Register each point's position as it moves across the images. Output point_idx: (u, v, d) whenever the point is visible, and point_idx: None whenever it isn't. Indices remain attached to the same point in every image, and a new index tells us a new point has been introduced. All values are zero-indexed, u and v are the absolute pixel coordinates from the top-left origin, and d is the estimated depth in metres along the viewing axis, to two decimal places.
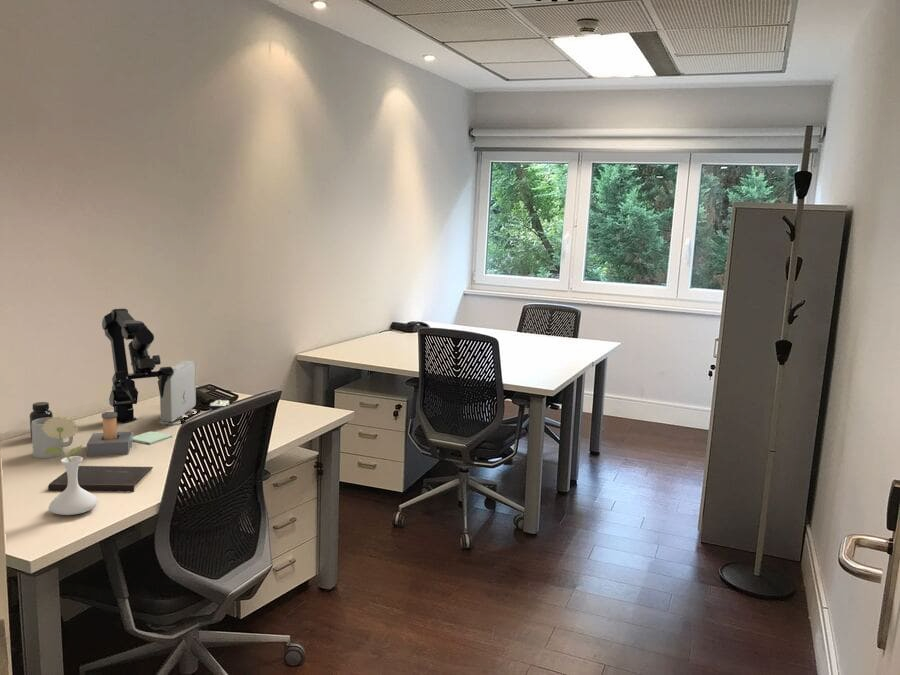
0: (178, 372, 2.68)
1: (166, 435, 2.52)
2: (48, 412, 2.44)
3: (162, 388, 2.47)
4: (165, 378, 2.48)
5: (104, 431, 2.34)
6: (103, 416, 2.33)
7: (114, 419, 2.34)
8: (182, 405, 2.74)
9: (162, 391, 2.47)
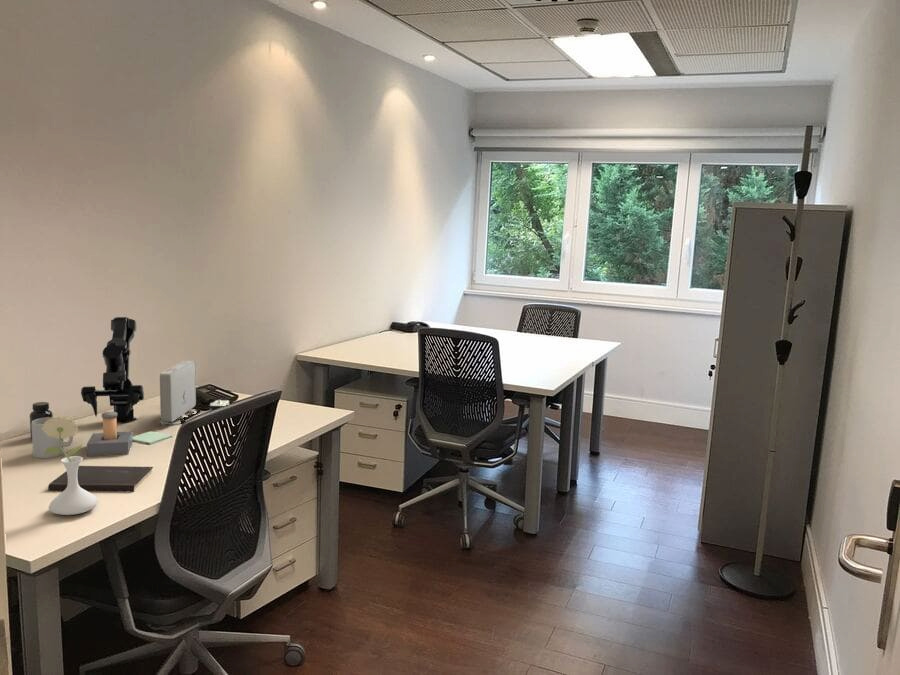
0: (178, 372, 2.68)
1: (166, 435, 2.52)
2: (48, 412, 2.44)
3: (127, 405, 2.40)
4: (132, 395, 2.42)
5: (104, 431, 2.34)
6: (103, 416, 2.33)
7: (114, 419, 2.34)
8: (182, 405, 2.74)
9: (127, 408, 2.40)
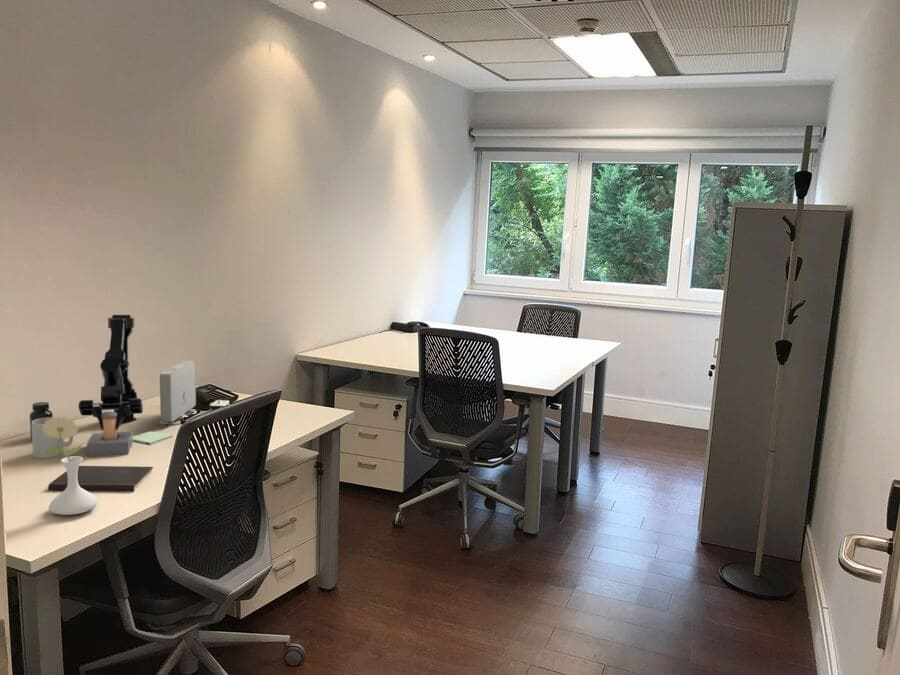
0: (178, 372, 2.68)
1: (166, 435, 2.52)
2: (48, 412, 2.44)
3: (118, 419, 2.36)
4: (122, 409, 2.37)
5: (104, 431, 2.34)
6: (103, 416, 2.33)
7: (114, 419, 2.34)
8: (182, 405, 2.74)
9: (117, 422, 2.35)
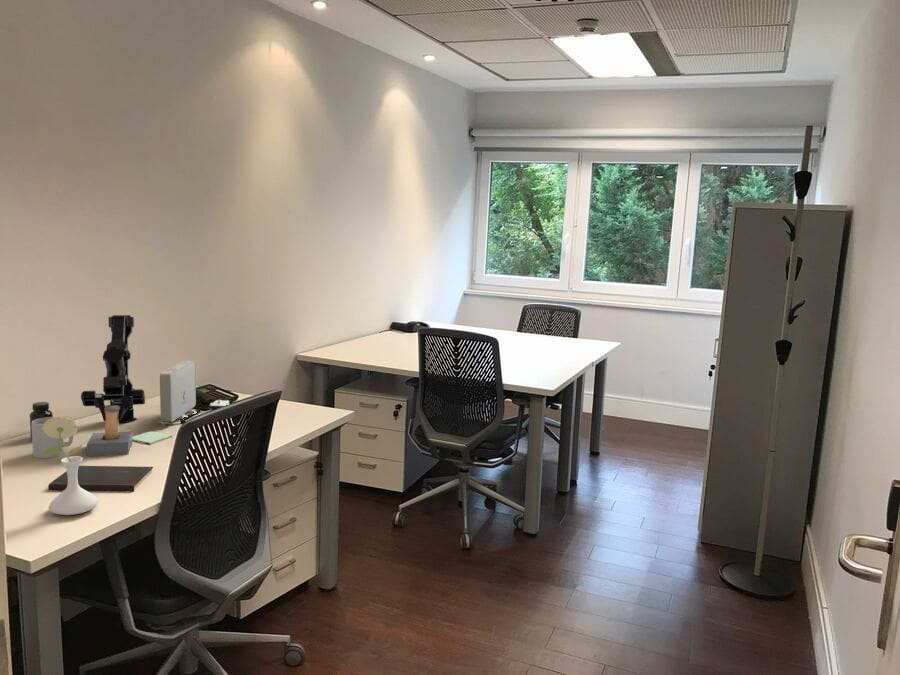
0: (178, 372, 2.68)
1: (166, 435, 2.52)
2: (48, 412, 2.44)
3: (121, 410, 2.36)
4: (125, 400, 2.37)
5: (106, 424, 2.34)
6: (106, 409, 2.33)
7: (117, 412, 2.34)
8: (182, 405, 2.74)
9: (120, 413, 2.35)
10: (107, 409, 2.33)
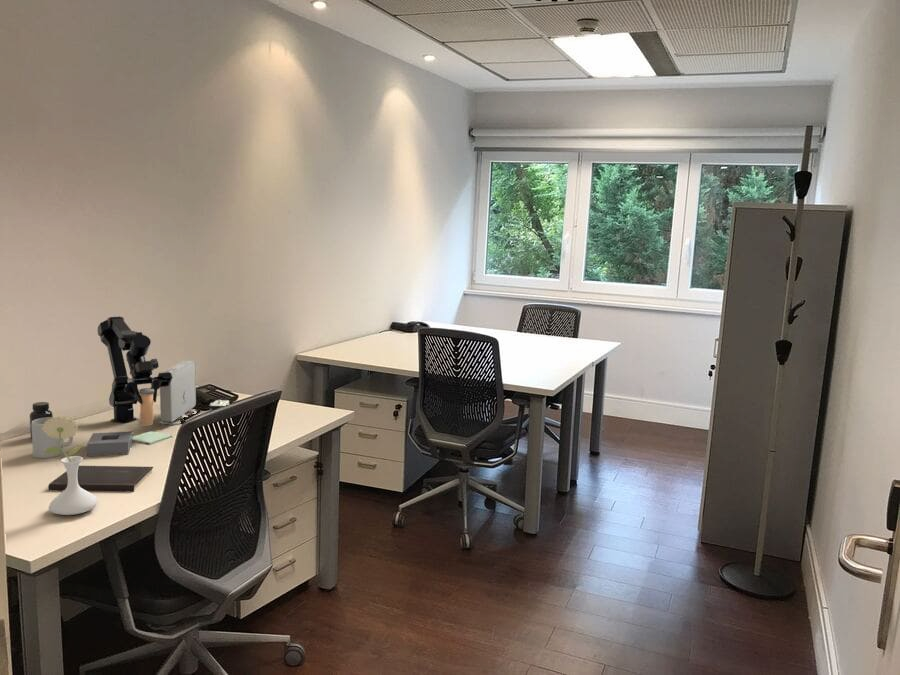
0: (178, 372, 2.68)
1: (166, 435, 2.52)
2: (48, 412, 2.44)
3: (155, 392, 2.48)
4: (157, 383, 2.49)
5: (143, 406, 2.45)
6: (143, 392, 2.44)
7: (152, 394, 2.46)
8: (182, 405, 2.74)
9: (155, 395, 2.47)
10: (145, 392, 2.44)
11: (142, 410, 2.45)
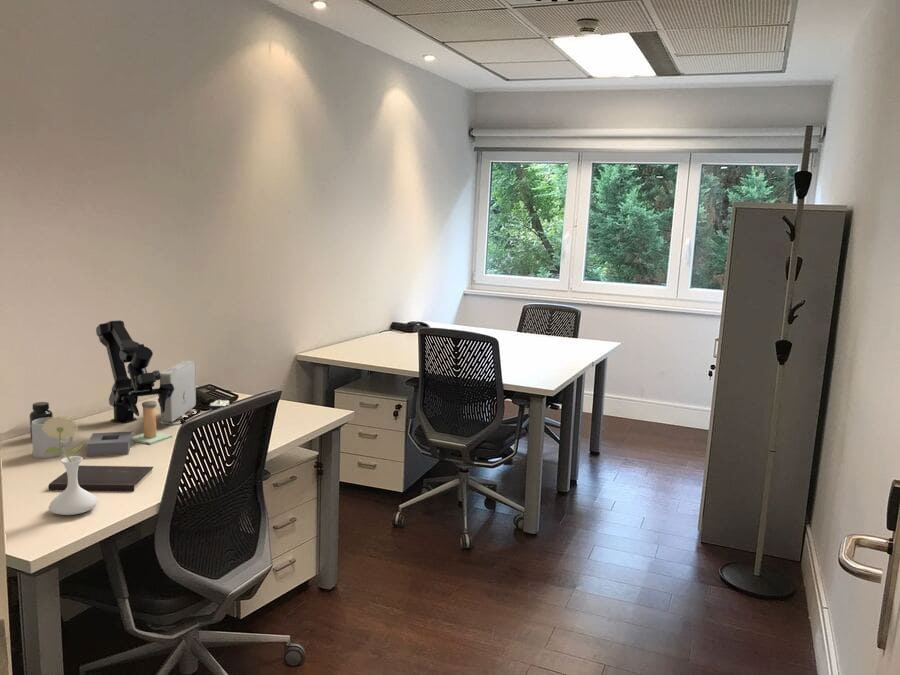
0: (178, 372, 2.68)
1: (166, 435, 2.52)
2: (48, 412, 2.44)
3: (163, 403, 2.51)
4: (165, 393, 2.52)
5: (146, 420, 2.47)
6: (146, 405, 2.45)
7: (155, 407, 2.48)
8: (182, 405, 2.74)
9: (163, 406, 2.50)
10: (147, 406, 2.45)
11: (145, 423, 2.47)
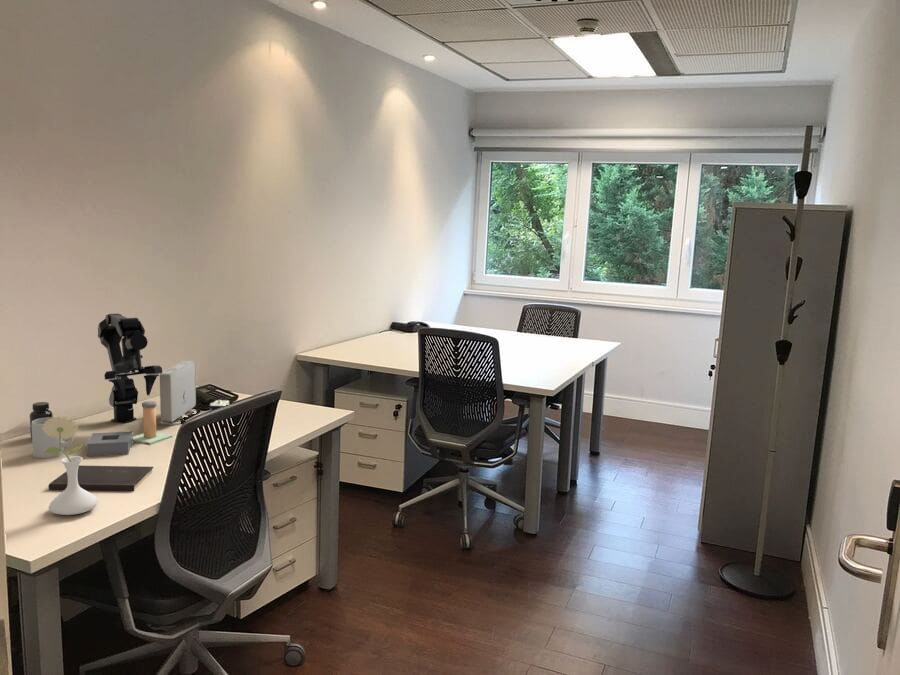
0: (178, 372, 2.68)
1: (166, 435, 2.52)
2: (48, 412, 2.44)
3: (147, 387, 2.54)
4: (148, 378, 2.53)
5: (146, 420, 2.46)
6: (146, 405, 2.45)
7: (155, 407, 2.48)
8: (182, 405, 2.74)
9: (147, 390, 2.54)
10: (147, 406, 2.45)
11: (145, 423, 2.47)
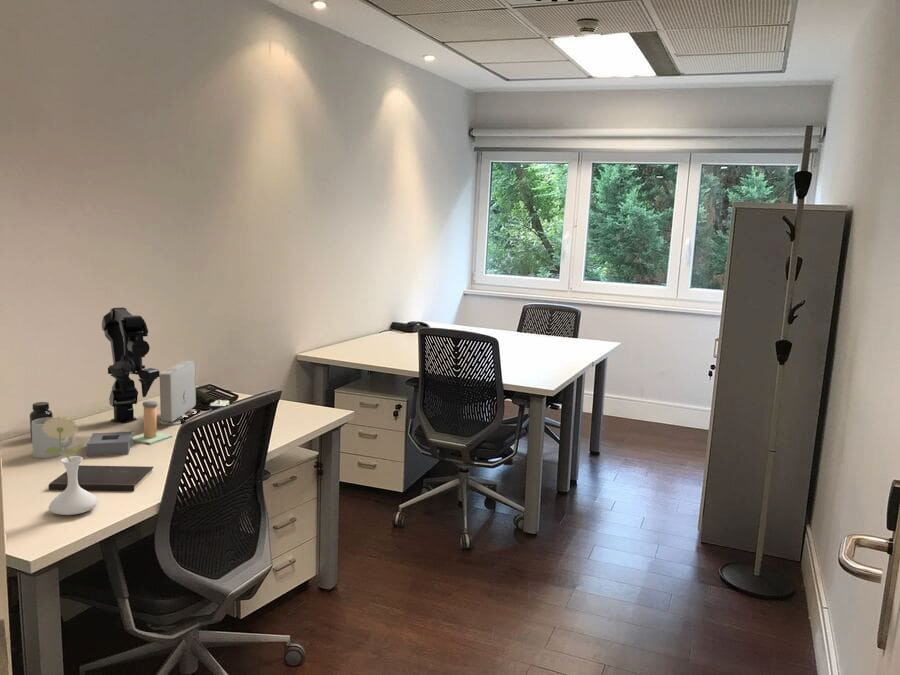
0: (178, 372, 2.68)
1: (166, 435, 2.52)
2: (48, 412, 2.44)
3: (142, 389, 2.52)
4: (142, 382, 2.50)
5: (147, 419, 2.47)
6: (147, 405, 2.45)
7: None
8: (182, 405, 2.74)
9: (142, 392, 2.52)
10: (148, 405, 2.46)
11: (146, 423, 2.47)
